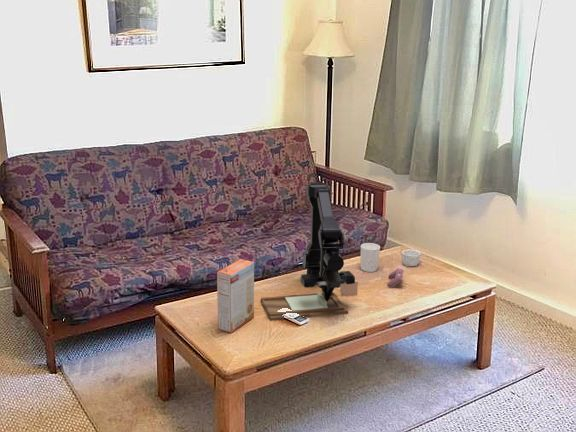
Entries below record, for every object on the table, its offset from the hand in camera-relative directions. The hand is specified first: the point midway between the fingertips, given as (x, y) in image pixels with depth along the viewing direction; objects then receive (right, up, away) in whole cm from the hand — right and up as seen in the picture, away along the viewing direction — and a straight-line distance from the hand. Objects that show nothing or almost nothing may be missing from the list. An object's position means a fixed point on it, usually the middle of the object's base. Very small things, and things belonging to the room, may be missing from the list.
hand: (326, 301), depth 246 cm
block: (+9, +1, +13) cm, 16 cm away
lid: (-7, -1, -1) cm, 7 cm away
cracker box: (-32, -6, -14) cm, 35 cm away
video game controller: (+28, +4, +23) cm, 36 cm away
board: (-8, -2, 0) cm, 9 cm away
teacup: (+38, +10, +43) cm, 58 cm away
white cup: (+19, +9, +36) cm, 42 cm away
